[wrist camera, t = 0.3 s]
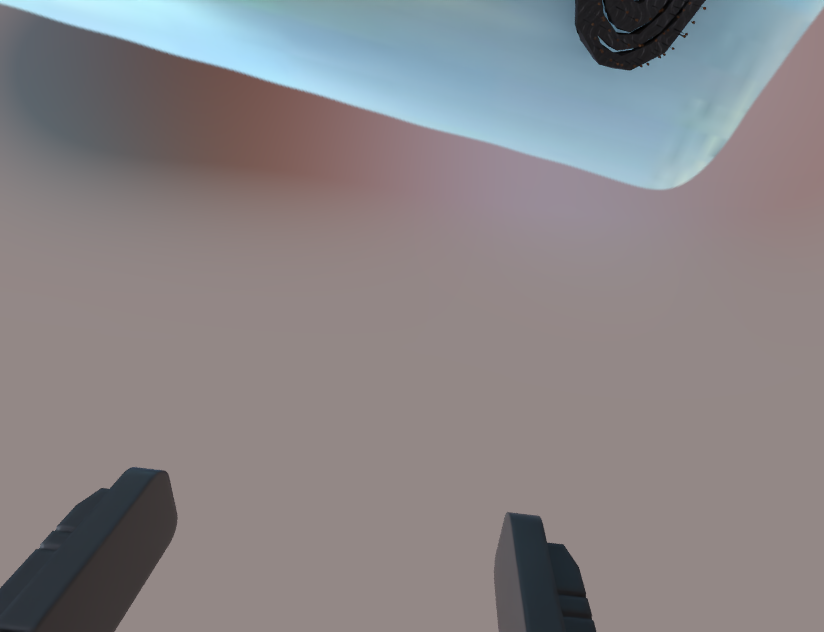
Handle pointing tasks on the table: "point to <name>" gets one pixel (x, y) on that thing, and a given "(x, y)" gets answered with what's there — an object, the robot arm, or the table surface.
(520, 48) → the table surface
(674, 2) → the hairbrush
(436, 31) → the table surface
